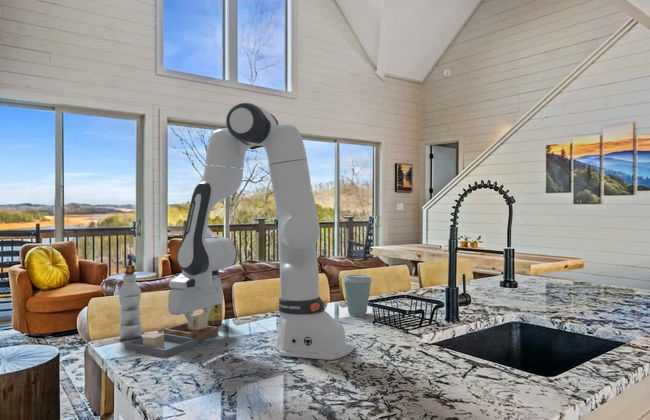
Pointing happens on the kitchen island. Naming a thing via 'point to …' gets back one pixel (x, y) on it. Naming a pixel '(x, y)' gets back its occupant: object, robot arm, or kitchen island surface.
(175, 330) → the brown rectangular tray
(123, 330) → the plastic bottle
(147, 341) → the beige cube
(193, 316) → the cream matte cube
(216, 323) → the sauce bottle
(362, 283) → the disposable coffee cup
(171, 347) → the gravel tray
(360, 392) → the kitchen island surface
